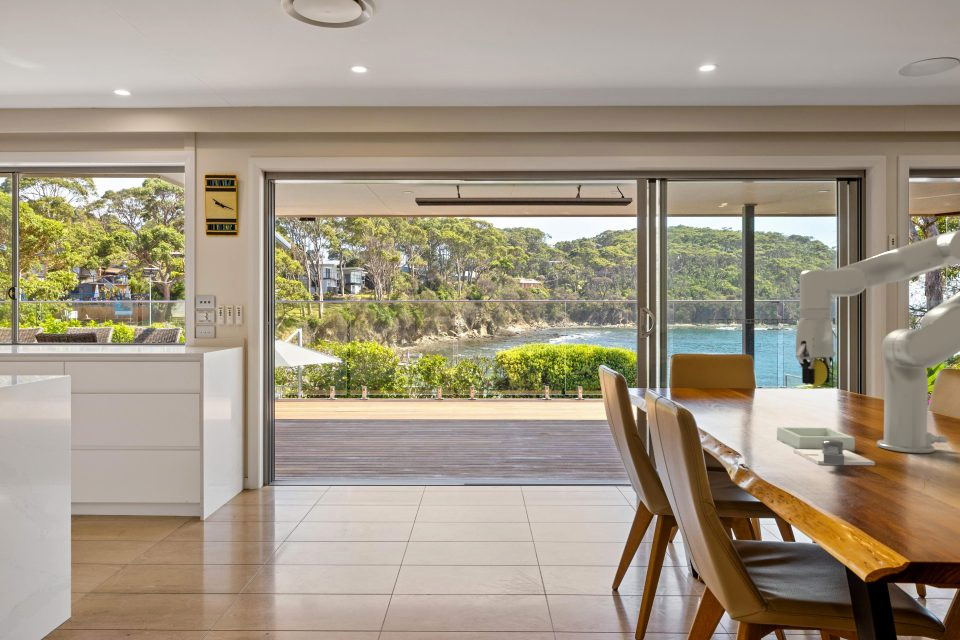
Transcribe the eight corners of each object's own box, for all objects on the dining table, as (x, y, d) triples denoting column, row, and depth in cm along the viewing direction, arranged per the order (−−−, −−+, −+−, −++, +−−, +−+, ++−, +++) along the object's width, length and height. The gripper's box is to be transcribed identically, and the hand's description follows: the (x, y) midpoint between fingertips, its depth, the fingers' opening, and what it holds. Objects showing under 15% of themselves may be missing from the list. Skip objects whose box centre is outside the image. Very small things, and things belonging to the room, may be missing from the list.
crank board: (845, 453, 162) (845, 449, 162) (874, 465, 149) (874, 461, 149) (793, 452, 163) (793, 448, 163) (817, 464, 150) (817, 460, 150)
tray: (827, 440, 178) (828, 427, 178) (854, 451, 164) (854, 437, 164) (776, 439, 179) (777, 427, 179) (799, 450, 165) (799, 436, 165)
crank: (822, 450, 159) (822, 439, 159) (842, 452, 157) (842, 440, 157) (822, 465, 144) (822, 451, 144) (845, 467, 142) (845, 454, 142)
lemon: (821, 386, 173) (821, 357, 173) (831, 388, 168) (830, 358, 168) (800, 386, 174) (800, 357, 174) (809, 389, 168) (809, 358, 168)
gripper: (822, 315, 178) (822, 379, 178) (782, 316, 170) (782, 383, 170) (848, 315, 171) (848, 382, 171) (808, 316, 163) (808, 386, 163)
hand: (815, 382), depth 171 cm, fingers closed on lemon, 5 cm apart
